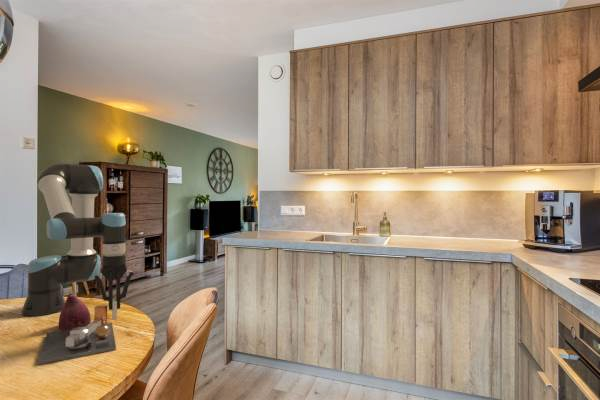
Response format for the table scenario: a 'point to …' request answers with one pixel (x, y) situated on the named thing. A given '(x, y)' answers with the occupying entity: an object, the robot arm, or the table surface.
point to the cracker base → (58, 351)
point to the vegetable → (74, 314)
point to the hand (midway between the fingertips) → (114, 317)
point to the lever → (87, 327)
